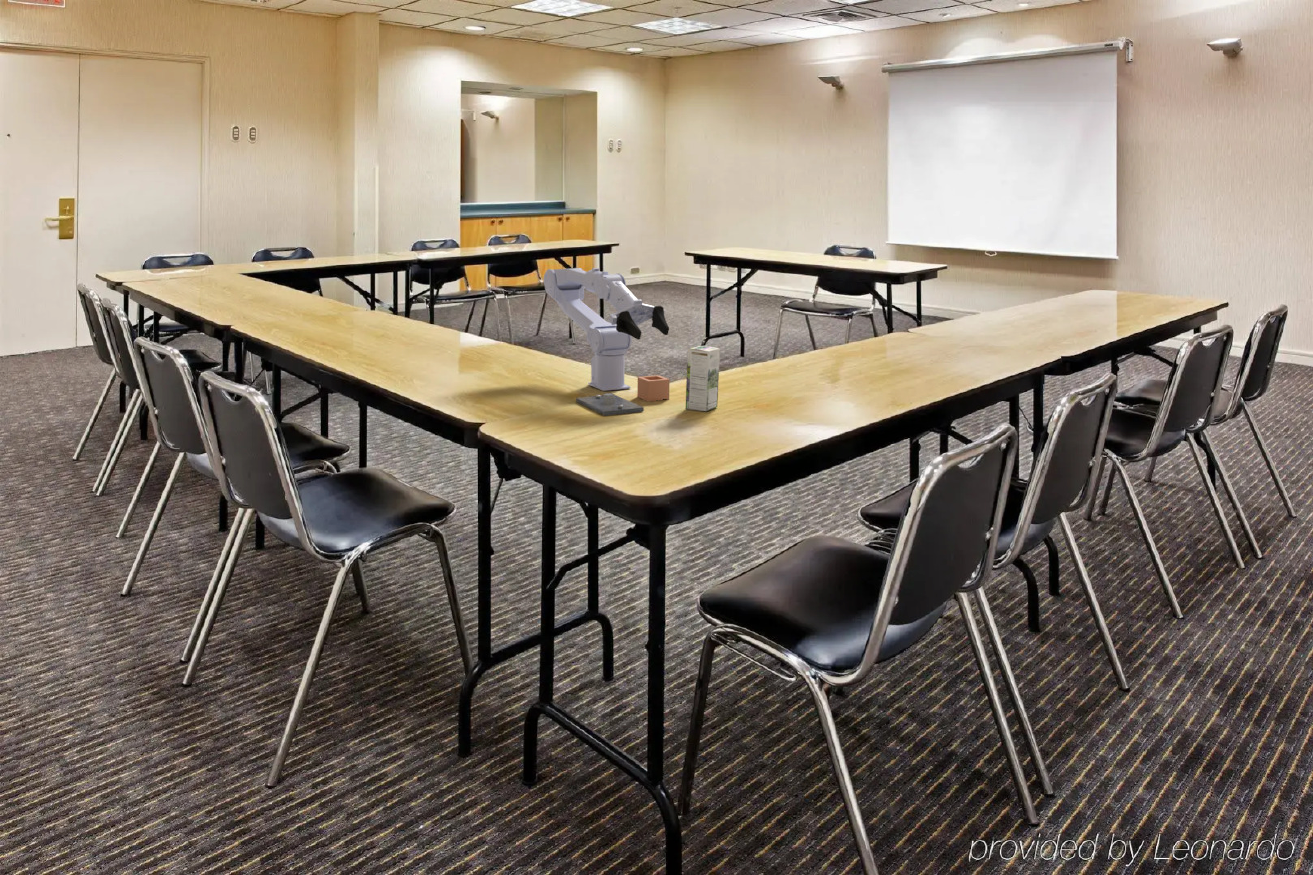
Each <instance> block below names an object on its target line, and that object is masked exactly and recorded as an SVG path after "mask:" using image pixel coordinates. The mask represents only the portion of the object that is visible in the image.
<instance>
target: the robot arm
mask: <svg viewBox="0 0 1313 875" xmlns="http://www.w3.org/2000/svg"><path fill="white" fill-rule="evenodd" d="M626 283H627V282H626V279H625V277H624V276H623V275H622V274H621V273H612V274H611V273H609V271H605V270H604V271H603V270H602V271H600V268H597V267H593V268H591V269H590V270H588V271H586V270H583V268H580V267H579V268H578V267H574V268H557V269H556V268H555V269H551V268H548V269H546V270H545V272H544V274H543V284H544V285H543V286H544V290H545V293H546V294H547V295H548V296H549V297H551V299H553V300H554V301H555V302H556V303H557V305H558V307H559V308H560V310H561V312H563V314H565V315H566V316H567V317H568V318H569V319H571V321H573V322H574V323H575V324H576V325H577V326H579V327H580V328H581V329H582V330H583V331H584V332H586V343H587V344H589V347H590V350H592V352H593V356H592V358H591V361H590V366H591V367H590V369H591V370H590V372H591V373H590V375H591V378H590V379H591V380H590V382H588V383H587V385H588V386H591V387H593V388H595V389H598V390H599V391H602V392H605V391H606V392H607V391H617V390H626V389H631V385H627V384H625V354H628V350H629V349H630V348H631V345H632V342H633V339H632V338H635V339H636V340H641V336H642V330H641V329H640V327H639V326H638V325H641V324H643V323H645V322H647V321H649V320H651V321H652V322H651V328H655V329H656V330H658V331H660V333H661V334H662V335H664V336H667V335H669V330H670V327H669V325H668V323H667V320H666V317H665V314H666V313H665V312H666V310H665V309H664V307H663V306H662V305H655V306H654V305H650V304H647V303H643V300H642V299H638V298H637V297H636V296H635V295H634V294H633V293H632V291H631V290H630V289H629V288H628V287H627V284H626ZM585 290H586V291H588V292H591V293H593V294H596V297H597V298H598V299H602V300H603V299H604V300H605V301H608V302H609V304H610V305H611V306H612V307H613V308H614V309H615V310H616V312H613V313H610V314H609V316H608V321H606V320H605V319H604V318H603V317H602V316H600V315H599V314H598V313H596V312H595V311H594V310H593V309H592V308H590V307H589V306H588V305H586V303H584V302H583V300H584V299H585Z"/></svg>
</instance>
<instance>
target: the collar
mask: <svg viewBox="0 0 1313 875" xmlns="http://www.w3.org/2000/svg"><path fill="white" fill-rule="evenodd" d="M670 381H671V380H670V378H668V377H665V376H661V375H659V374H658V375H655V374H654V375H647V376H637V398H639V399H642V400H644V401H646V402H655V401H656V400H658V401H664V400H663V399H667V400H670Z"/></svg>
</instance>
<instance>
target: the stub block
mask: <svg viewBox="0 0 1313 875" xmlns="http://www.w3.org/2000/svg"><path fill="white" fill-rule="evenodd" d="M575 402H576V403H578V404H580V405H582V406H584V407H586V408H588V409H589V410H592V411H594V412H596V413H598V414H600V415H602V416H604V417H608V416H614V415H615V414H617V415H625V414H632V413H634V414H635V413H642V412H643V411H644V410H645V409H644V407H643V406H642V405H639V404H637V403H635V402H632V401H630V400H628V399H625V398H623V397H621V396H619V395H616V394H614V393H611V392H609V393H603V395H601V394H595V395H593V396H592V395H591V396H584V397H583V396H582V397H576V398H575ZM615 416H616V415H615Z"/></svg>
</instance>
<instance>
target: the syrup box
mask: <svg viewBox="0 0 1313 875" xmlns="http://www.w3.org/2000/svg"><path fill="white" fill-rule="evenodd" d="M720 351H721V349H720V348H719V347H714V346H710V345H698V346H695V347H692V348H688V349H687V358H686V359H687V360H686V361H687V362H686V383H685V384H686V385H685V386H686V387H685V388H686V389H685V409H686V410H692V411H698V412H709V411H711V410H714V409H716V408H718V399H719V381H720V378H719V376H720V375H719V374H720V353H721V352H720Z"/></svg>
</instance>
